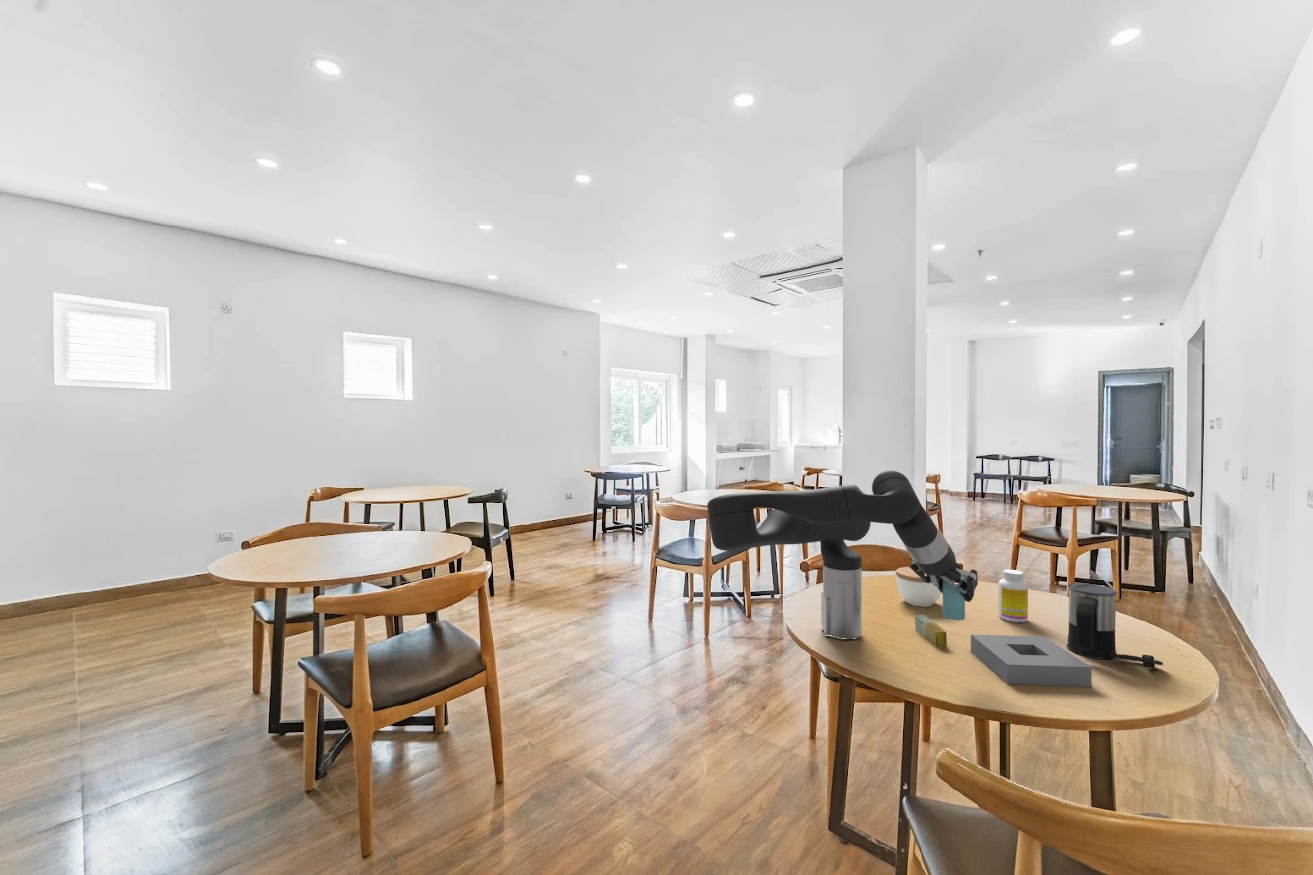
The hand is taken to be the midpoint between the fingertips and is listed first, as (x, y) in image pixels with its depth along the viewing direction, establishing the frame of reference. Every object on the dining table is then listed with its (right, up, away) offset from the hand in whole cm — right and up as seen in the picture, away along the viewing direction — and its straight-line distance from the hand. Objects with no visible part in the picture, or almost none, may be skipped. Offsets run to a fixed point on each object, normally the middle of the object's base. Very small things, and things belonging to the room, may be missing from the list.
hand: (958, 595), depth 120 cm
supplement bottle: (+31, -15, +29) cm, 45 cm away
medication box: (+2, -16, +17) cm, 23 cm away
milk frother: (+37, -16, +4) cm, 40 cm away
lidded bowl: (+12, -15, +43) cm, 47 cm away
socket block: (+15, -16, 0) cm, 21 cm away
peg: (-2, -4, -1) cm, 5 cm away
